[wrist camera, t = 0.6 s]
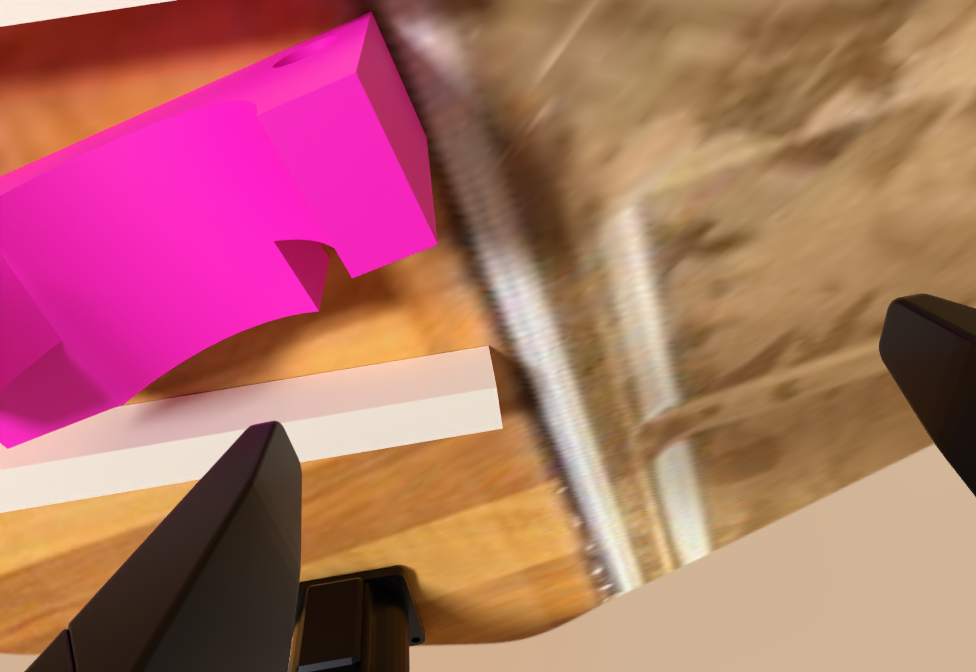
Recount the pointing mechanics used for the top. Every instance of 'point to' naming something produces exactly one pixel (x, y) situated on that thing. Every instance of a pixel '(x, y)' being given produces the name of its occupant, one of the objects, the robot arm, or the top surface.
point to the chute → (243, 402)
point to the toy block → (203, 223)
